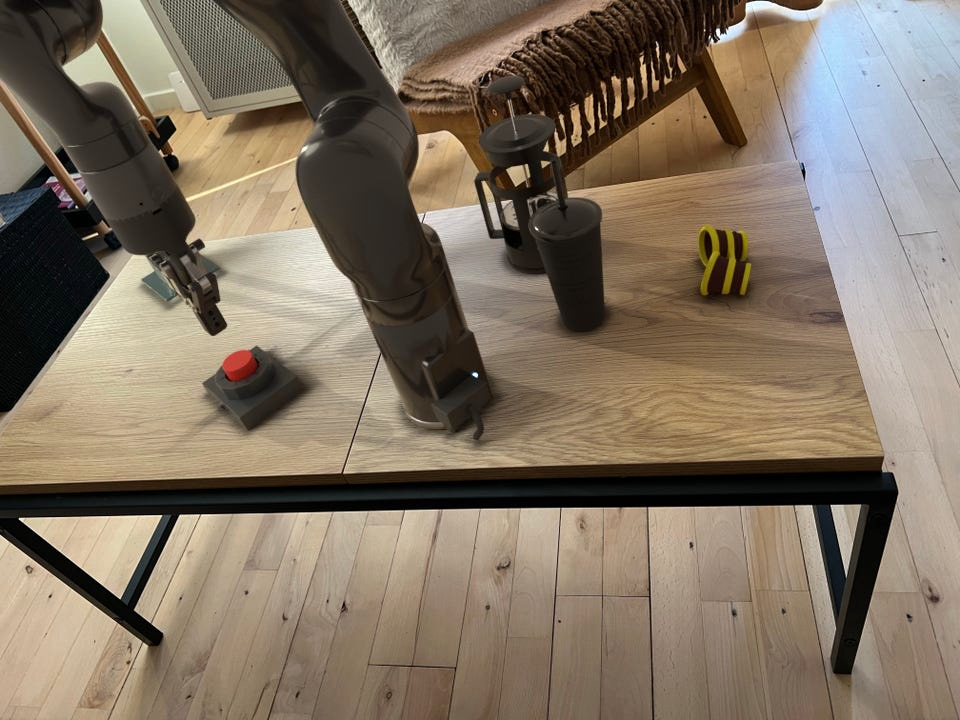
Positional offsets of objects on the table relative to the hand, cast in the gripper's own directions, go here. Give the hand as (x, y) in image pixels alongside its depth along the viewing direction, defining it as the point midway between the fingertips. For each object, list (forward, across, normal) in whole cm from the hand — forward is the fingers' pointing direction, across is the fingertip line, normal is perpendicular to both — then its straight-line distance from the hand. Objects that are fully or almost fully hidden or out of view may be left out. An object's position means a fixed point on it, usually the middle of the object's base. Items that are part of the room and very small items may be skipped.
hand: (217, 329), depth 87 cm
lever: (+2, -30, +6) cm, 30 cm away
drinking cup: (+10, +25, +31) cm, 41 cm away
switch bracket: (+10, -34, +6) cm, 36 cm away
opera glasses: (+10, +34, +45) cm, 57 cm away
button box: (+10, 0, 0) cm, 10 cm away
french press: (+10, +11, +38) cm, 41 cm away
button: (+6, 0, 0) cm, 6 cm away
